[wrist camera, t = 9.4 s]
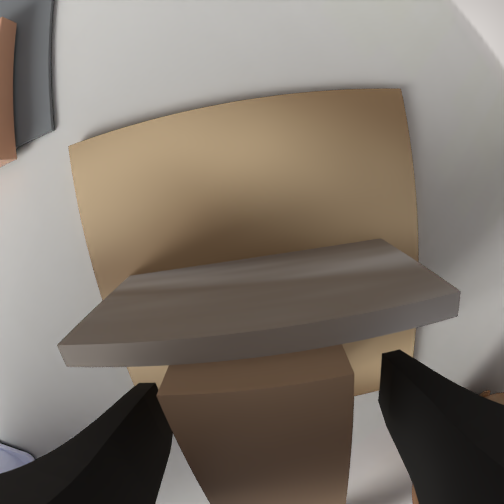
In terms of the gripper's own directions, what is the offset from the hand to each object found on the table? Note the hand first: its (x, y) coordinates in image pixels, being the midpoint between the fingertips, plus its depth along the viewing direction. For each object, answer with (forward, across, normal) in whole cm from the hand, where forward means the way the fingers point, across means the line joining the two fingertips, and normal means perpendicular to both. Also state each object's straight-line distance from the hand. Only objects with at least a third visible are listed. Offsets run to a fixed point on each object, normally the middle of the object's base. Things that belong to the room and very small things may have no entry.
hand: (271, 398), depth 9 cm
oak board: (+3, 0, -3) cm, 4 cm away
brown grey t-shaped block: (+3, 0, -1) cm, 3 cm away
